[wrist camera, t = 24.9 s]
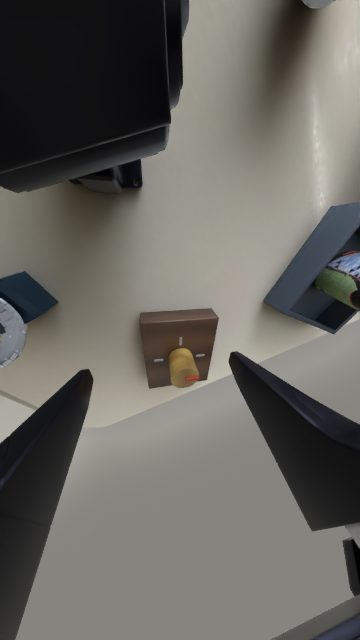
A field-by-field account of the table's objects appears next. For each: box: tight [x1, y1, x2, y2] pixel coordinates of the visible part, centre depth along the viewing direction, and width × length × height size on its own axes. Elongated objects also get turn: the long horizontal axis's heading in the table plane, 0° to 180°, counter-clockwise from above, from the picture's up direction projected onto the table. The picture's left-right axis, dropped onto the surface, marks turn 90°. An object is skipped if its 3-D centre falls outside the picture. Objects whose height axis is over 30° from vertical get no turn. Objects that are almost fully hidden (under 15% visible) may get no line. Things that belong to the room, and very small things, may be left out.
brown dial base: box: [140, 309, 219, 389], centre depth 24 cm, size 14×11×3 cm
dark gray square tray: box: [264, 202, 360, 334], centre depth 22 cm, size 14×14×4 cm
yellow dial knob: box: [168, 348, 200, 388], centre depth 21 cm, size 4×4×4 cm
